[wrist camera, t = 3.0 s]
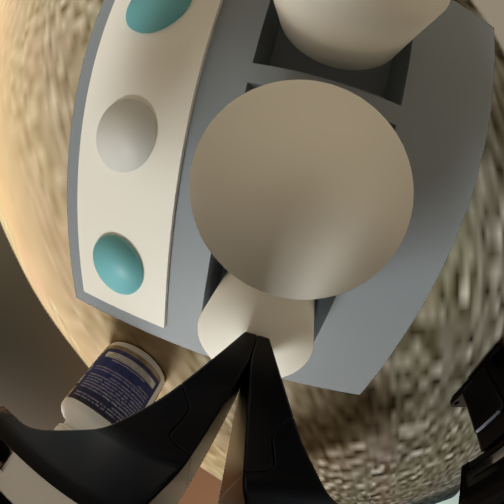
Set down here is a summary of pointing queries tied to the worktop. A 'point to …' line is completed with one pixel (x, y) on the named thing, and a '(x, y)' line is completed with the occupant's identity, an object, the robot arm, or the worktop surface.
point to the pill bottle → (112, 388)
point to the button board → (193, 127)
